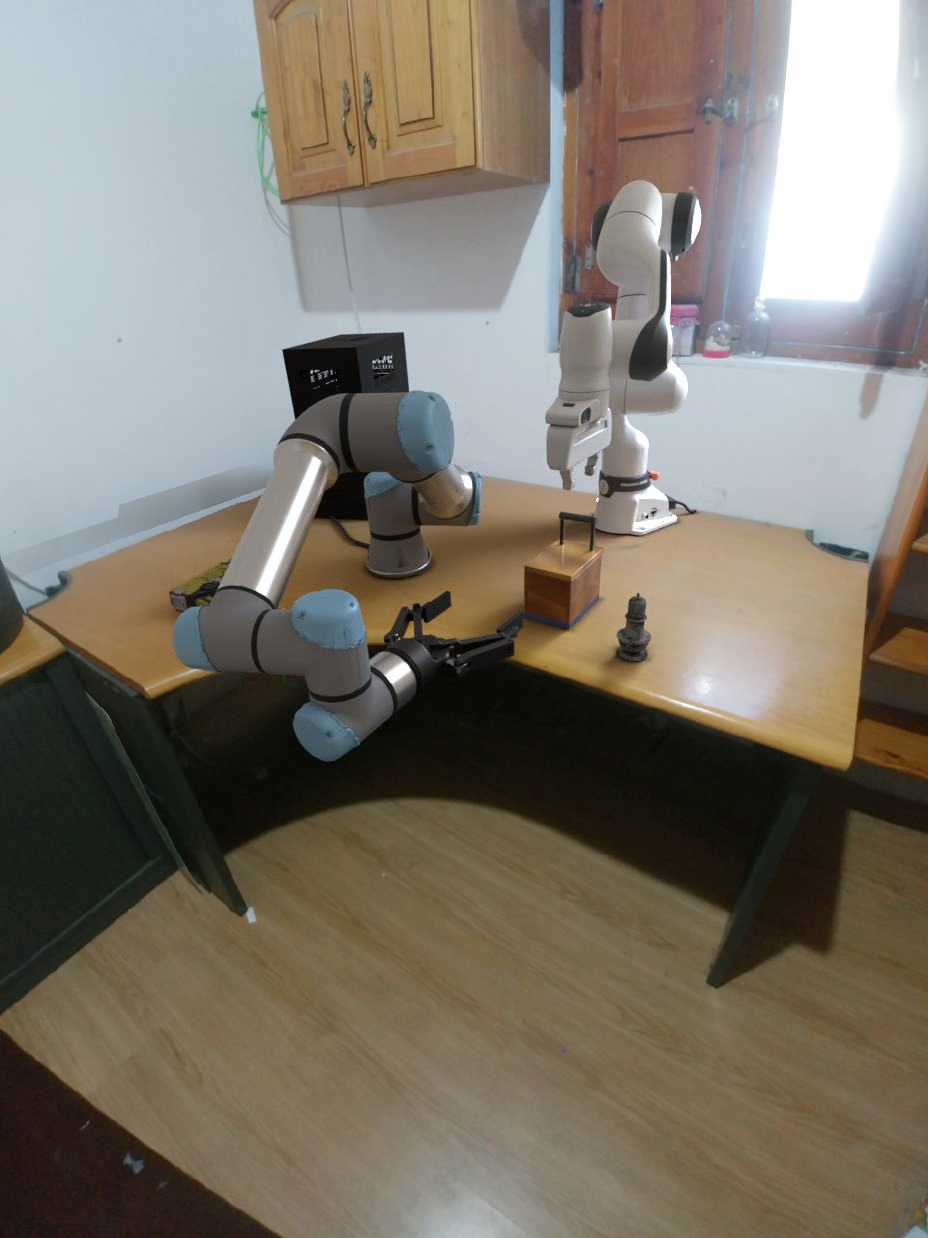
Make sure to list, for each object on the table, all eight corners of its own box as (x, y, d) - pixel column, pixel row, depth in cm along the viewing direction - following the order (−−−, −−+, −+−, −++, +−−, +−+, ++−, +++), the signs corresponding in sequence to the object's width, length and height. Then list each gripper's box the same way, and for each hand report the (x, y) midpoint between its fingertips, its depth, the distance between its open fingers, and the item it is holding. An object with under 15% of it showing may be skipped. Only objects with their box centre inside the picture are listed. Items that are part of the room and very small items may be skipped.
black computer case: (378, 519, 171) (356, 347, 149) (313, 517, 176) (282, 349, 153) (417, 479, 203) (403, 331, 180) (361, 478, 207) (341, 334, 185)
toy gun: (291, 561, 141) (237, 550, 145) (223, 605, 121) (163, 591, 125) (293, 579, 143) (240, 568, 147) (226, 625, 123) (167, 611, 127)
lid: (559, 543, 125) (560, 507, 121) (603, 552, 120) (606, 514, 116) (524, 570, 115) (524, 531, 111) (571, 581, 110) (572, 541, 106)
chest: (555, 588, 129) (557, 545, 124) (598, 599, 124) (602, 554, 119) (524, 616, 120) (523, 571, 115) (569, 629, 115) (571, 582, 110)
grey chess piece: (650, 663, 103) (658, 601, 97) (615, 660, 105) (620, 600, 99) (648, 644, 108) (655, 585, 102) (614, 642, 110) (620, 583, 104)
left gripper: (335, 670, 89) (423, 610, 103) (476, 728, 76) (554, 649, 91) (326, 626, 85) (420, 570, 100) (473, 679, 72) (555, 605, 87)
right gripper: (591, 393, 116) (587, 465, 123) (540, 415, 101) (539, 495, 108) (622, 395, 112) (616, 469, 119) (574, 418, 98) (571, 500, 105)
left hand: (484, 608), depth 95 cm, fingers open, 13 cm apart
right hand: (579, 481), depth 114 cm, fingers open, 8 cm apart
